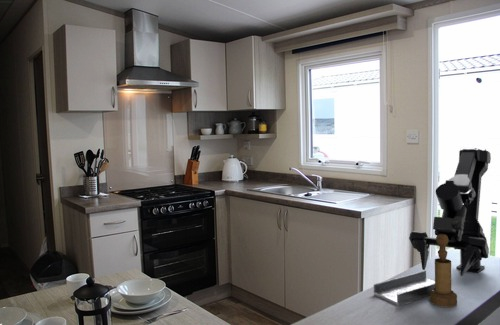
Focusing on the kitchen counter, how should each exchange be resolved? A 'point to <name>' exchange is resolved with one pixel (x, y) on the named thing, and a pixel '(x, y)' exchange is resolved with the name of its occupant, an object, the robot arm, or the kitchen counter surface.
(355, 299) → the kitchen counter surface
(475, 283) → the kitchen counter surface
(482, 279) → the kitchen counter surface
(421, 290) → the floor track
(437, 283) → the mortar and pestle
